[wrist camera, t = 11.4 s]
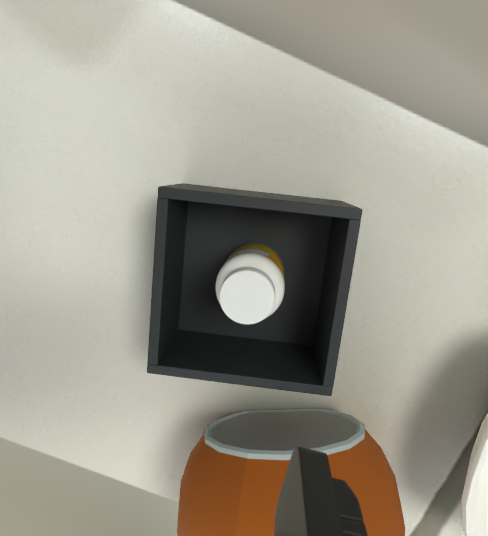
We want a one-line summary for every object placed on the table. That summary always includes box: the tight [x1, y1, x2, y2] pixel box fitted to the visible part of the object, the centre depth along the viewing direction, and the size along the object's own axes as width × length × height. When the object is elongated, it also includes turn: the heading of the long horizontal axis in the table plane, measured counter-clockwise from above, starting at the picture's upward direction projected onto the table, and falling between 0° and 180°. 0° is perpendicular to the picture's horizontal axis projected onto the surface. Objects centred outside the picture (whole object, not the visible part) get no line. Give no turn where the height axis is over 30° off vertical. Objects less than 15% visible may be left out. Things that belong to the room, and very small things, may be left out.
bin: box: [147, 184, 362, 396], centre depth 36 cm, size 15×15×9 cm
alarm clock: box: [177, 408, 405, 536], centre depth 36 cm, size 19×18×17 cm
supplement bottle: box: [216, 243, 285, 324], centre depth 35 cm, size 5×5×10 cm
